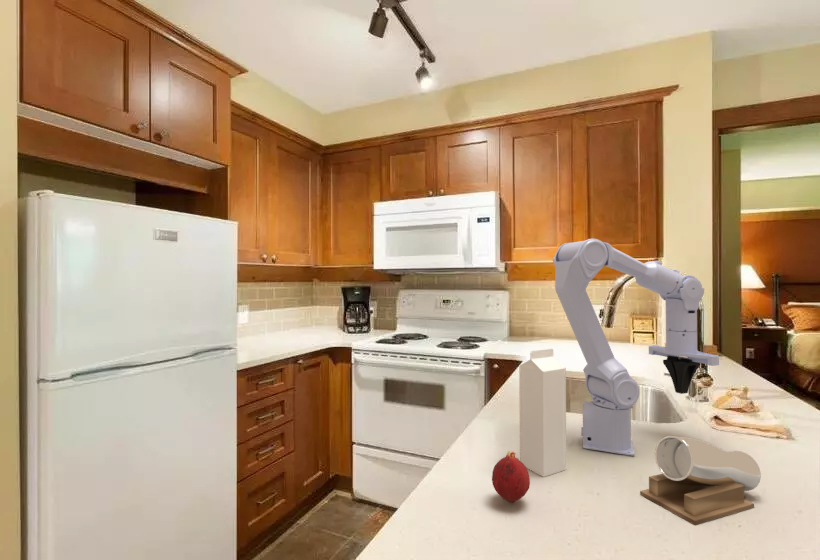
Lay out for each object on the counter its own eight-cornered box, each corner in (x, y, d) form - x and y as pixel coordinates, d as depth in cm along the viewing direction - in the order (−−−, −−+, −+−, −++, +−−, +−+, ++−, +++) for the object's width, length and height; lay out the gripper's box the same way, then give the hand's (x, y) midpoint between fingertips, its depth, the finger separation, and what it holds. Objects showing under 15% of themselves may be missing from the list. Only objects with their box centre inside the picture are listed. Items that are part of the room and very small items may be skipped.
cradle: (640, 494, 67) (640, 475, 67) (695, 481, 72) (695, 463, 72) (695, 525, 59) (694, 503, 59) (754, 507, 63) (754, 487, 63)
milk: (566, 470, 76) (567, 350, 76) (543, 477, 73) (543, 353, 73) (541, 457, 82) (541, 346, 82) (518, 464, 79) (518, 348, 79)
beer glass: (773, 488, 64) (701, 476, 60) (731, 498, 69) (662, 486, 65) (750, 442, 68) (683, 428, 64) (712, 454, 73) (647, 441, 69)
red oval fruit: (523, 517, 61) (522, 462, 61) (486, 505, 64) (486, 454, 64) (534, 499, 66) (533, 449, 66) (499, 489, 69) (499, 441, 69)
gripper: (728, 333, 85) (729, 399, 85) (663, 326, 98) (664, 383, 98) (705, 335, 82) (705, 403, 82) (641, 327, 96) (642, 386, 96)
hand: (681, 392), depth 90 cm, fingers closed
